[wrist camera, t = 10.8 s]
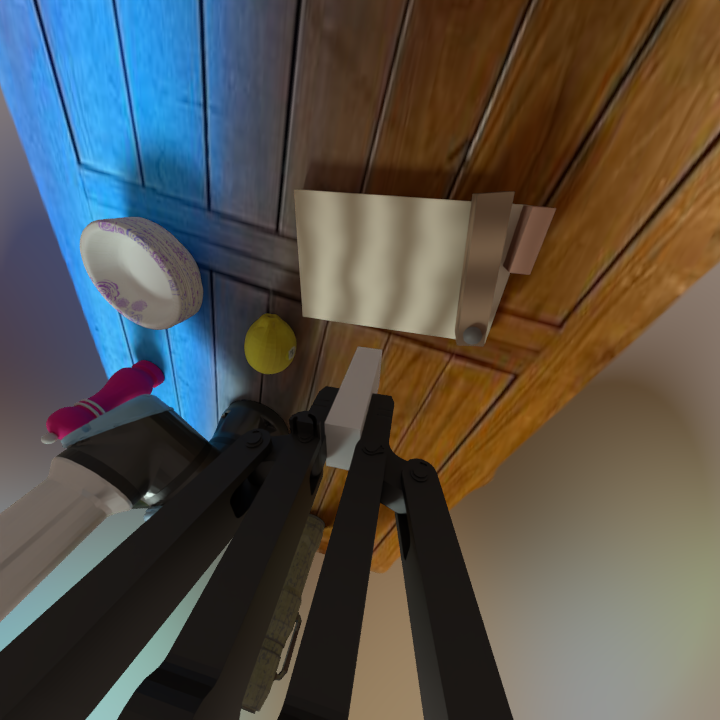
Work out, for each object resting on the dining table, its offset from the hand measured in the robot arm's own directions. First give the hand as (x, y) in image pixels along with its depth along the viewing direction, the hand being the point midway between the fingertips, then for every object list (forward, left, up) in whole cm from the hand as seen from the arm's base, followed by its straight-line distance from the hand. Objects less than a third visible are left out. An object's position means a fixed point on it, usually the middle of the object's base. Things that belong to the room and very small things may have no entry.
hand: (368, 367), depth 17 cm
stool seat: (-1, +1, -23) cm, 23 cm away
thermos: (-17, -75, -23) cm, 81 cm away
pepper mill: (-52, -27, -23) cm, 63 cm away
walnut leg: (+9, +2, -20) cm, 22 cm away
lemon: (-19, -12, -23) cm, 32 cm away
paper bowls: (-37, -3, -23) cm, 43 cm away
